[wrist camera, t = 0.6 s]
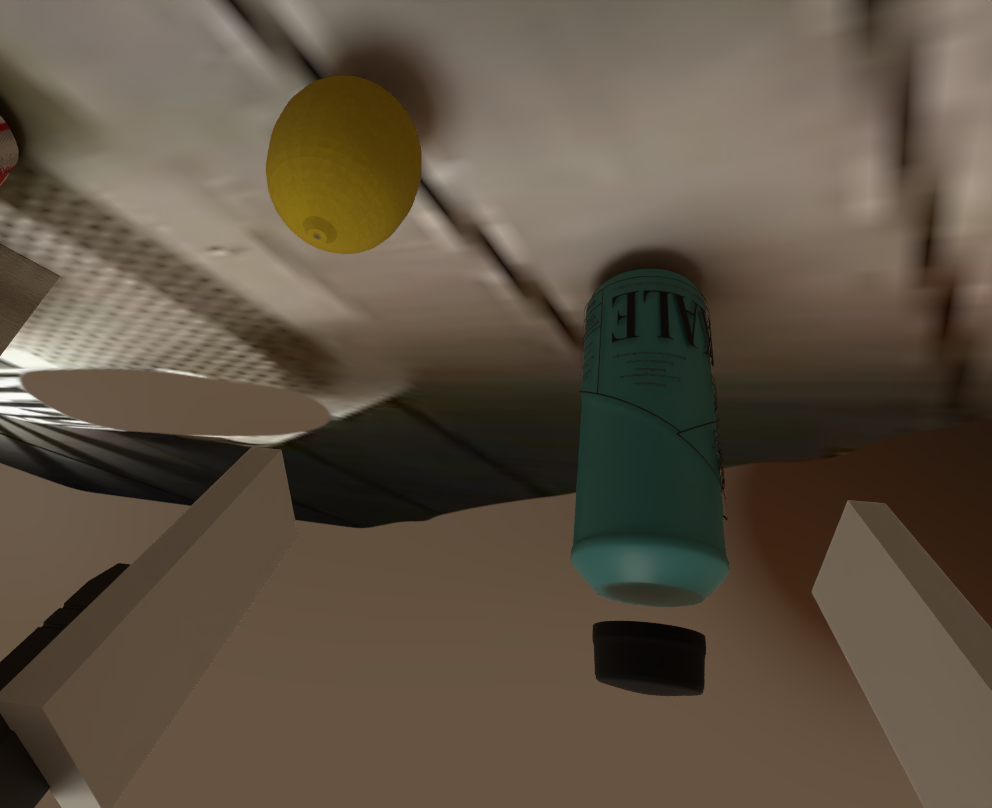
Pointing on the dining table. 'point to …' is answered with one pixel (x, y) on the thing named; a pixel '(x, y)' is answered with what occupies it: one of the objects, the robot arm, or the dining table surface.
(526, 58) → the dining table surface
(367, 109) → the lemon
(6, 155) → the soda can
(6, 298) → the box with round knob
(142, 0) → the dining table surface
